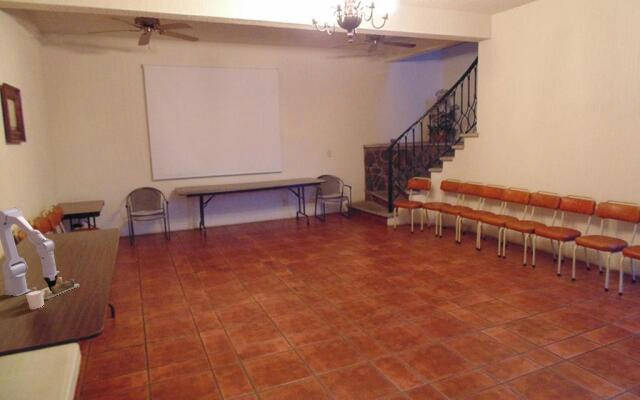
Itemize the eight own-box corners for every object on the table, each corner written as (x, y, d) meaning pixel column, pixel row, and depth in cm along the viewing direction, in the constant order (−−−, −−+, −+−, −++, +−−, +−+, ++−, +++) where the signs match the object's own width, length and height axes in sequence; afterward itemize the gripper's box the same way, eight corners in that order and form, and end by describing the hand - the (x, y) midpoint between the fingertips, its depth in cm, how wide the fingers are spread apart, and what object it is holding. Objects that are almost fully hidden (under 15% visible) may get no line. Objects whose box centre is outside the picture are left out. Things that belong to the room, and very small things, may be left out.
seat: (28, 297, 221) (26, 289, 220) (60, 284, 238) (59, 276, 237) (48, 299, 216) (46, 291, 215) (80, 286, 232) (79, 278, 232)
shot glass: (42, 302, 212) (39, 289, 211) (47, 305, 208) (45, 291, 207) (26, 307, 207) (23, 293, 206) (31, 311, 203) (28, 296, 201)
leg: (71, 284, 231) (71, 278, 231) (76, 284, 230) (75, 279, 230) (51, 293, 220) (50, 286, 219) (55, 293, 219) (54, 287, 219)
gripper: (60, 266, 217) (64, 292, 219) (55, 259, 228) (59, 284, 230) (43, 269, 212) (47, 296, 215) (39, 262, 224) (43, 288, 226)
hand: (52, 290), depth 222 cm, fingers closed
